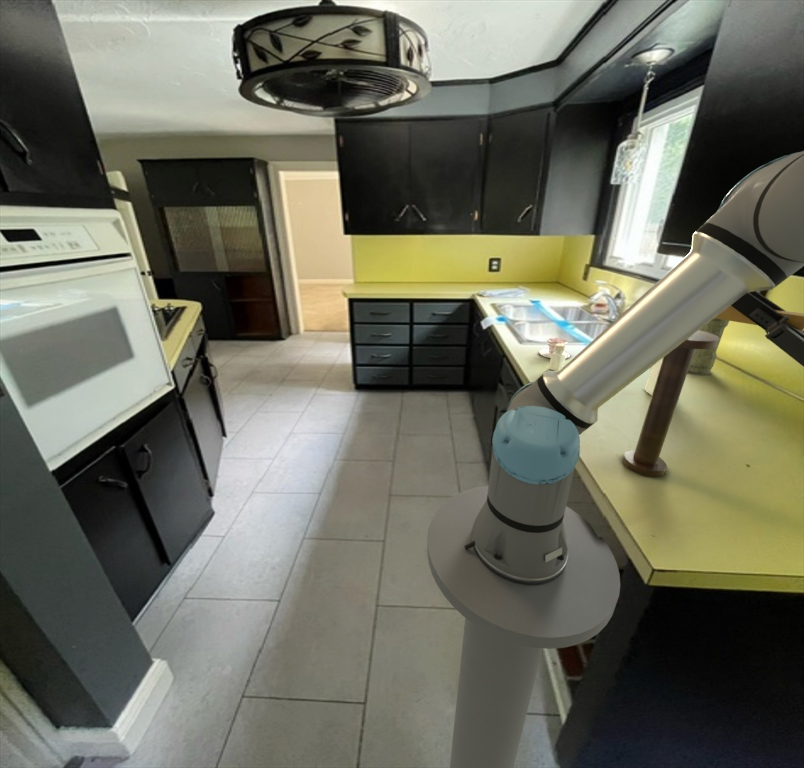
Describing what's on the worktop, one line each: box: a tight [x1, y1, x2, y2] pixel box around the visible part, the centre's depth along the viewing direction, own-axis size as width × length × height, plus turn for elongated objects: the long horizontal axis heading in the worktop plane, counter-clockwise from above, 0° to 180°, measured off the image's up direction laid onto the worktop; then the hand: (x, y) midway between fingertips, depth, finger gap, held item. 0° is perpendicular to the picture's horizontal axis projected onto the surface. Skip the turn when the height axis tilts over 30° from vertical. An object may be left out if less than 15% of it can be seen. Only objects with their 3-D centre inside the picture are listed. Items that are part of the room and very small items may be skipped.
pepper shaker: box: [548, 344, 567, 371], centre depth 132 cm, size 4×4×10 cm
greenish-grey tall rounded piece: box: [687, 318, 730, 376], centre depth 126 cm, size 9×12×35 cm
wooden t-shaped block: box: [715, 305, 804, 332], centre depth 62 cm, size 5×18×3 cm, turn 32°
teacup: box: [538, 337, 571, 360], centre depth 148 cm, size 12×12×6 cm
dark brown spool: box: [622, 330, 719, 478], centre depth 74 cm, size 10×10×30 cm
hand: (741, 296), depth 60 cm, fingers closed on wooden t-shaped block, 2 cm apart
